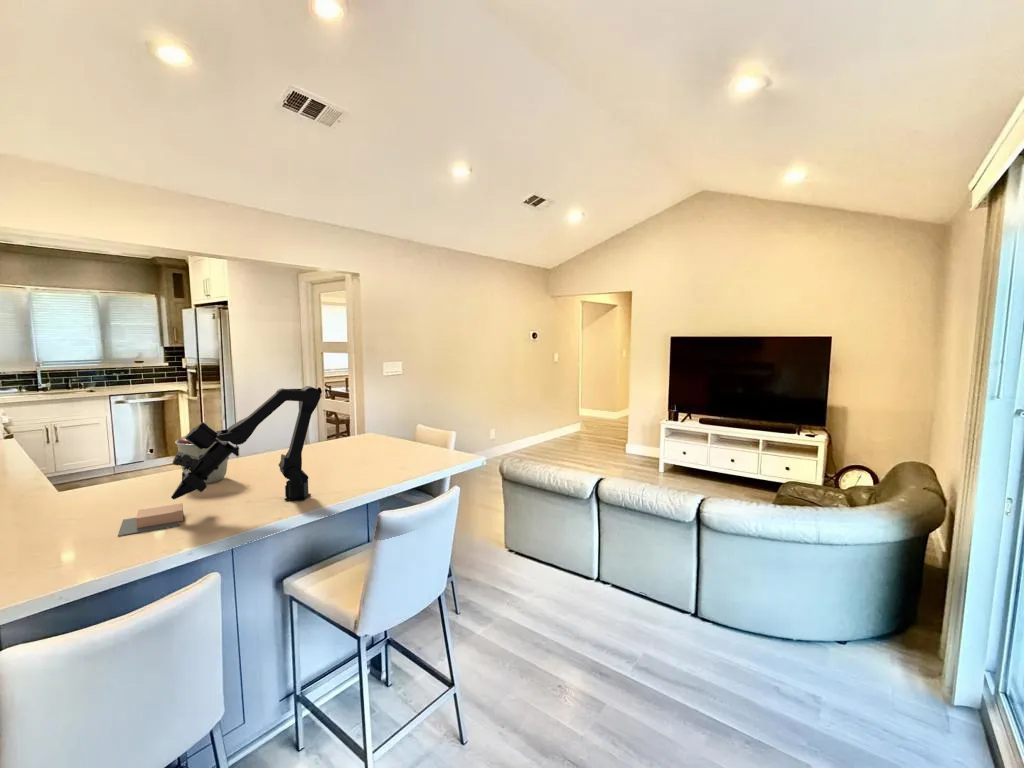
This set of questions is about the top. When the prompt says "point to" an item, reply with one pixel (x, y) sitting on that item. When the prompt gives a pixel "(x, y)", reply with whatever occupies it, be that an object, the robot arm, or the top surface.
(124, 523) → the mat
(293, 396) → the robot arm
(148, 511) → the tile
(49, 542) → the top surface
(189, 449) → the canister
